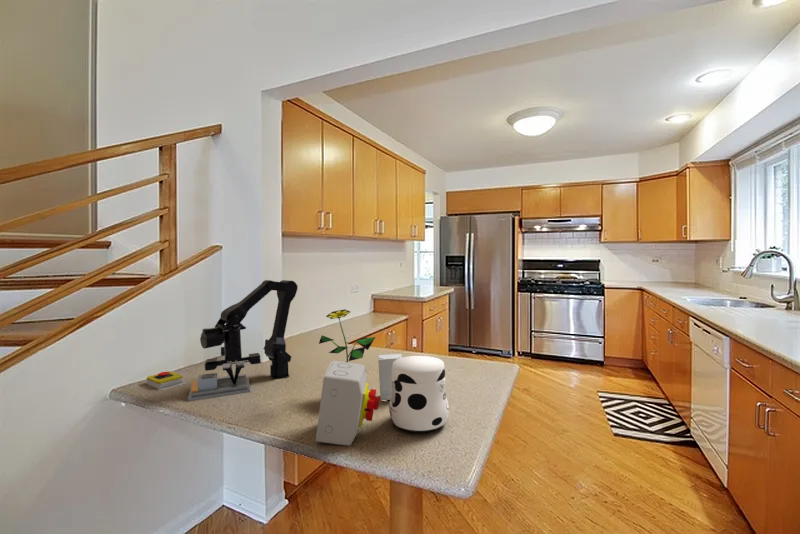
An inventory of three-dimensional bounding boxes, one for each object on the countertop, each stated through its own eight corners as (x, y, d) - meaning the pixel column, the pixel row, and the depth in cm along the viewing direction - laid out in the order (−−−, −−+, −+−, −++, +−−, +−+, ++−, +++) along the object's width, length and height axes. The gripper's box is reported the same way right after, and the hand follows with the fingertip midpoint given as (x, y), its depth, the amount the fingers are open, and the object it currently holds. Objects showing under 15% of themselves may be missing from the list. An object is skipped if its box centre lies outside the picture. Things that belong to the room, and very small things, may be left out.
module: (217, 386, 143) (217, 372, 142) (217, 391, 137) (216, 376, 137) (199, 388, 140) (199, 374, 140) (198, 394, 135) (197, 379, 134)
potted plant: (315, 395, 134) (313, 311, 133) (365, 387, 141) (364, 307, 140) (326, 415, 118) (323, 319, 116) (382, 405, 125) (381, 314, 124)
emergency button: (168, 367, 158) (186, 373, 149) (169, 377, 158) (187, 384, 149) (143, 373, 150) (160, 380, 141) (143, 384, 150) (161, 392, 142)
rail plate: (248, 380, 151) (248, 370, 151) (250, 391, 139) (249, 380, 139) (191, 388, 143) (191, 378, 143) (187, 401, 131) (187, 389, 131)
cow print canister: (460, 422, 112) (459, 361, 111) (424, 444, 99) (423, 376, 98) (415, 406, 124) (414, 351, 123) (377, 425, 111) (376, 364, 110)
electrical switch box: (371, 454, 99) (381, 379, 98) (314, 446, 99) (324, 371, 98) (375, 428, 113) (384, 362, 113) (326, 421, 114) (334, 355, 113)
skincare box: (403, 394, 134) (402, 353, 133) (404, 401, 128) (403, 357, 127) (379, 395, 134) (378, 353, 133) (379, 402, 127) (378, 358, 127)
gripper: (258, 335, 153) (259, 373, 153) (205, 341, 145) (208, 381, 146) (259, 341, 142) (261, 382, 143) (203, 347, 135) (206, 391, 136)
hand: (234, 384), depth 142 cm, fingers closed
